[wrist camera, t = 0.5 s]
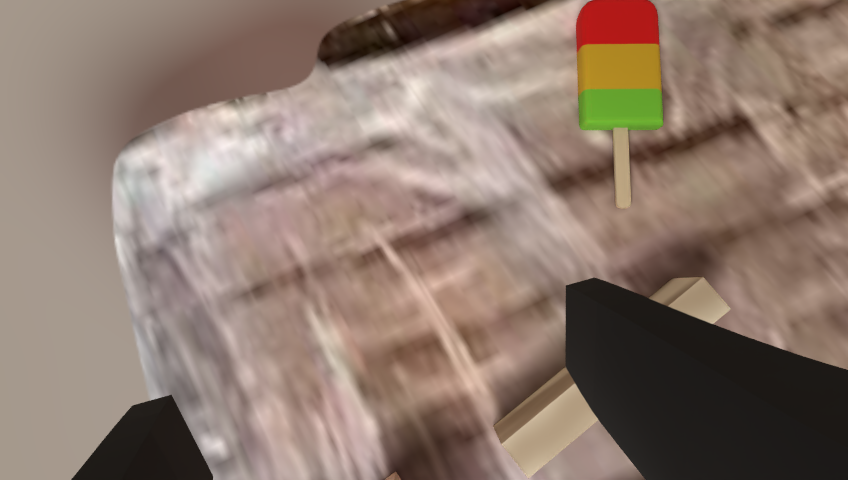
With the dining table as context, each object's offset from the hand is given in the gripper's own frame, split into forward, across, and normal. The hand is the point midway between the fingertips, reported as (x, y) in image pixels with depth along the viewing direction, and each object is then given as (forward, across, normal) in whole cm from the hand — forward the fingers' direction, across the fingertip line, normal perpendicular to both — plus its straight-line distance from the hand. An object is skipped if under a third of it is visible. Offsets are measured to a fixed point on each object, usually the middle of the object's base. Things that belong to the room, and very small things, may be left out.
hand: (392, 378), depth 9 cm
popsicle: (+24, -21, +4) cm, 32 cm away
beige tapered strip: (+15, -14, +18) cm, 28 cm away
